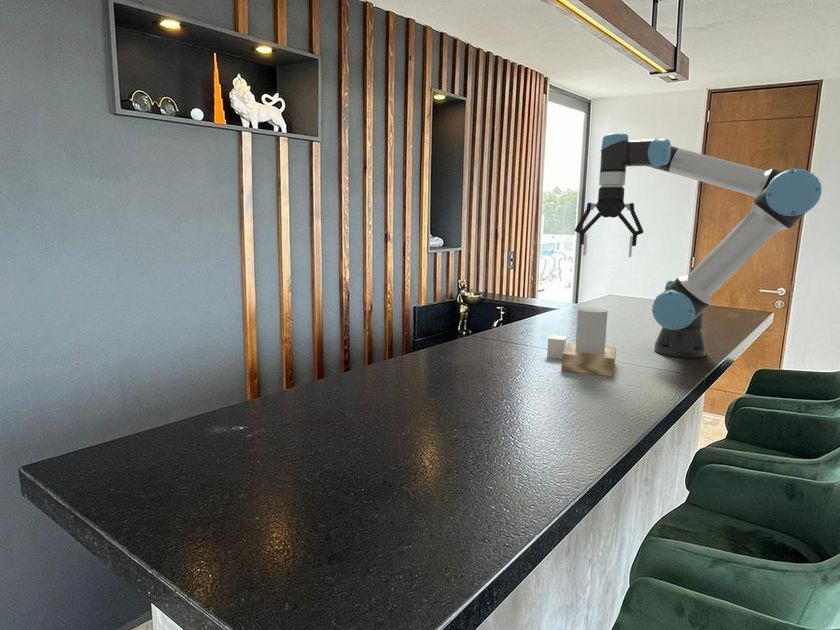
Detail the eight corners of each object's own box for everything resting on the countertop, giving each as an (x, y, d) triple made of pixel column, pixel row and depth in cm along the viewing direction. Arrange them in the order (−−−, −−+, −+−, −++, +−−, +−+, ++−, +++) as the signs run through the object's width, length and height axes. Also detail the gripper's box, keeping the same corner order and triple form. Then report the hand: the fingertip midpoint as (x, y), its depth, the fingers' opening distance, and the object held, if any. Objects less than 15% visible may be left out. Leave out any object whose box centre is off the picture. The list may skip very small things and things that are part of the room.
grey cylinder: (601, 347, 172) (604, 307, 170) (607, 354, 164) (610, 312, 162) (573, 346, 173) (575, 306, 170) (578, 353, 165) (580, 311, 162)
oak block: (614, 363, 173) (616, 347, 172) (613, 376, 160) (614, 358, 159) (566, 358, 178) (567, 343, 177) (561, 370, 165) (562, 353, 164)
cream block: (565, 355, 183) (566, 336, 182) (563, 358, 178) (564, 339, 177) (549, 353, 185) (550, 335, 183) (547, 357, 180) (548, 338, 179)
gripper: (655, 187, 177) (649, 256, 181) (571, 187, 186) (567, 253, 190) (655, 186, 170) (649, 258, 174) (568, 186, 179) (564, 255, 183)
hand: (606, 256), depth 182 cm, fingers open, 13 cm apart
